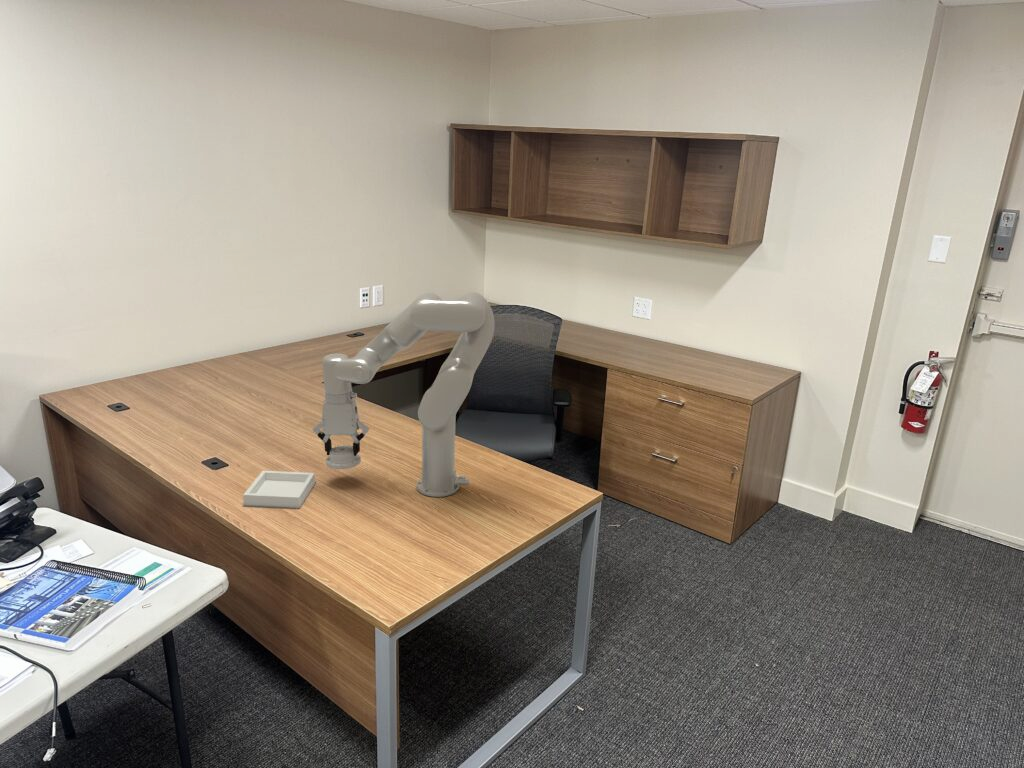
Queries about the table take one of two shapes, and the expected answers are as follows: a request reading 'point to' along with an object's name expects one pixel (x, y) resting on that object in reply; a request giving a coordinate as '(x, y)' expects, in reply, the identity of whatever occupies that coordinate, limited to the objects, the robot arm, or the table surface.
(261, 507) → the grey flat plate
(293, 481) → the tray
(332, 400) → the robot arm
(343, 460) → the mechanical component
